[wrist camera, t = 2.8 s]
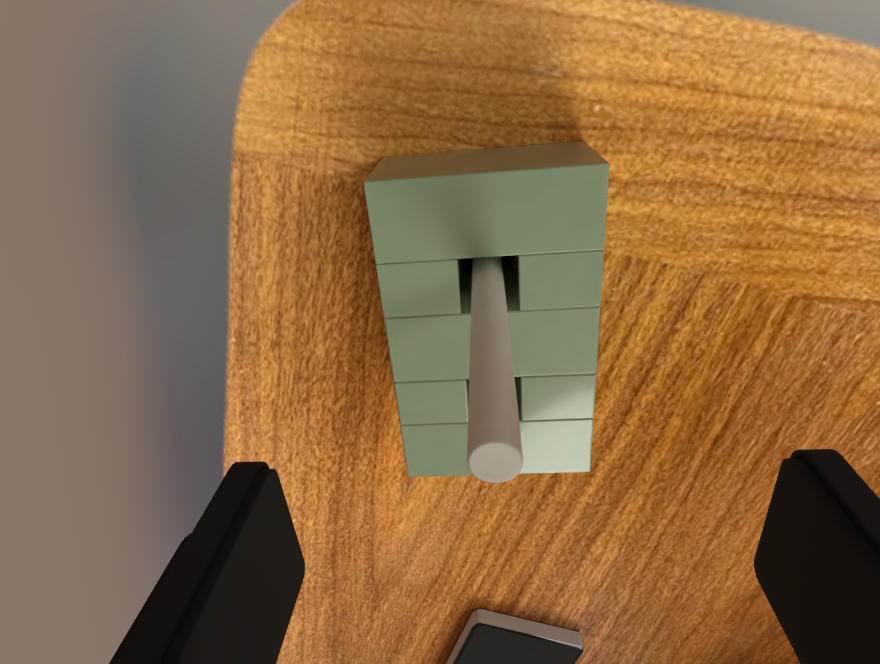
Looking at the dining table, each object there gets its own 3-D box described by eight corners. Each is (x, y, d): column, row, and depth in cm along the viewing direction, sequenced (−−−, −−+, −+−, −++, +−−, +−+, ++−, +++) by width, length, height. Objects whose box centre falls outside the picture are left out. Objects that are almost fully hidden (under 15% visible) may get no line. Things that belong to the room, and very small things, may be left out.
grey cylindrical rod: (473, 258, 24) (468, 484, 12) (471, 232, 23) (464, 442, 11) (500, 256, 24) (524, 483, 12) (499, 230, 23) (523, 440, 11)
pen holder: (573, 411, 28) (590, 472, 24) (416, 417, 28) (407, 477, 24) (584, 140, 21) (609, 162, 17) (382, 156, 22) (362, 181, 18)
